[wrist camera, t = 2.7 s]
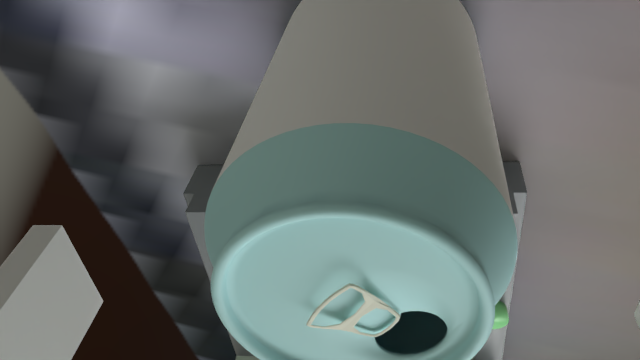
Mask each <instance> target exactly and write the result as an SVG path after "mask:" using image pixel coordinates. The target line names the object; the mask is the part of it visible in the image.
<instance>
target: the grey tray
mask: <svg viewBox="0 0 640 360" xmlns="http://www.w3.org/2000/svg"><path fill="white" fill-rule="evenodd" d="M222 167H223V165H210V166H198V167H197V168H196V170H195V172H194V174H193V176H192V178H191V180H190V182H189V184H188V186H187V188H186V190H185V192H184V197H185V199H186V202H187V205H188V208H187V210H186V212H185V213H186V216H187V219H188V221H189V224H190V227H191V230H192V233H193V235H194V238H195V241H196V244H197V246H198V249H199V252H200V255H201V258H202V260H203V263H204V266H205V269H206V272H207V274H208V277H209V280H210V283H211V275H212V271H213V266H212V263H211V261H210V258H209V255H208V252H207V248H206V243H205V232H204V222H205V212H206V207H207V203H208V200H209V197H210V194H211V192H212V189H213V187H214V185H215V183H216V181H217V178H218V176H219V174H220V172H221V170H222ZM503 167H504V172H505V177H506V182H507V187H508V192H509V197H510V201H511V206H512V211H513V216H514V221H515V226H516V231H517V240H518V250H519V243H520V237H521V230H522V223H523V217H524V210H525V203H526V197H527V190H526V186H525V182H524V178H523V174H522V170H521V166H520V162H503ZM518 250H517V257H518ZM516 264H517V258H516ZM516 264H515V268H514V272H513V275H512V278H511V281H510V283H509V285H508V287H507V289H506V291H505V293H504V294H503V296H502V297H501V299H500V300H499V301H498V303H497V304H496V305H495V319H494V325H493V328H492V331H491V333H490V335H489V337H488V339H487V341H486V343H485V344H484V346H483V347H482V348H481V350H480V351H479V352H478V353H477V354H476V355H475V356H474V357H473V358H472V359H471V360H502V357H503V351H504V344H505V337H506V331H507V324H508V322H509V318H508V317H509V310H510V304H511V297H512V290H513V284H514V277H515V270H516ZM228 333H229V336H230V338H231V341H232V344H233V347H234V350H235V352H236V355H237V356H236V359H235V360H260V359H258V358H257V357H255V356H254V355H253V354H251V353H250V352H249V351H247V350H246V349H245V348H244V347H243V346H242V345H241V344H239V343H238V341H237V340H236V339H235V338H234V337H233V336H232V335H231V334H230V332H229V331H228Z"/></svg>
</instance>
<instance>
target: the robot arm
mask: <svg viewBox="0 0 640 360" xmlns="http://www.w3.org/2000/svg"><path fill="white" fill-rule="evenodd" d="M102 303H103V300H102V298H101V296H100V294H99V293H98V291H97V289H96V287H95V285H94V283H93V282H92V280H91V278H90V276H89V274H88V272H87V270H86V269H85V267H84V265H83V263H82V261H81V260H80V258H79V256H78V254H77V253H76V250H75V248H74V247H73V245H72V243H71V241H70V239H69V237H68V236H67V234H66V232H65V230H64V228H63V227H62V225H33V226H32V227H31V229H30V230H29V231H28V232H27V234H26V235H25V236H24V238H23V239H22V240H21V241H20V243H19V244H18V245H17V246H16V248H15V249H14V250H13V251H12V253H11V254H10V255H9V256H8V258H7V259H6V260H5V262H4V263H3V264H2V265H1V267H0V360H71V359H72V357H73V355H74V353H75V352H76V350H77V348H78V346H79V344H80V343H81V341H82V339H83V337H84V335H85V334H86V331H87V330H88V328H89V326H90V324H91V323H92V321H93V319H94V317H95V315H96V314H97V312H98V310H99V308H100V306H101V305H102ZM634 317H635V319H636V322H637V324H638V327H639V329H640V300H639V303H638V306H637V308H636V311H635V314H634Z"/></svg>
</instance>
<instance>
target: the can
mask: <svg viewBox="0 0 640 360" xmlns="http://www.w3.org/2000/svg"><path fill="white" fill-rule="evenodd" d="M204 232H205V243H206V248H207V252H208V255H209V258H210V261H211V263H212V266H213V271H212V275H211V295H212V300H213V304H214V307H215V310H216V312H217V314H218V316H219V318H220V320H221V321H222V323H223V324H224V326H225V327H226V329H227V330H228V331H229V332H230V334H231V335H232V336H233V337H234V338H235V339H236V340H237V341H238V343H239V344H241V345H242V346H243V347H244V348H245V349H246V350H247V351H249V352H250V353H251V354H253V355H254V356H255V357H257V358H258V359H260V360H471V359H472V358H473V357H474V356H475V355H476V354H477V353H478V352H479V351H480V350H481V348H482V347H483V346H484V344H485V343H486V341H487V339H488V337H489V335H490V333H491V331H492V328H493V325H494V319H495V305H496V304H497V303H498V301H499V300H500V299H501V297H502V296H503V294H504V293H505V291H506V289H507V287H508V285H509V283H510V281H511V278H512V275H513V272H514V268H515V264H516V258H517V250H518V240H517V231H516V226H515V221H514V216H513V211H512V206H511V201H510V197H509V192H508V187H507V182H506V177H505V172H504V167H503V162H502V158H501V153H500V148H499V143H498V138H497V133H496V128H495V123H494V119H493V114H492V109H491V104H490V99H489V94H488V89H487V85H486V80H485V75H484V70H483V65H482V60H481V55H480V50H479V46H478V41H477V36H476V32H475V29H474V26H473V23H472V21H471V19H470V17H469V15H468V13H467V11H466V9H465V8H464V6H463V5H462V3H461V2H460V1H459V0H302V1H301V2H300V3H299V5H298V6H297V8H296V9H295V11H294V13H293V15H292V17H291V19H290V21H289V23H288V25H287V27H286V29H285V32H284V34H283V36H282V38H281V40H280V43H279V45H278V47H277V49H276V51H275V53H274V56H273V58H272V60H271V62H270V64H269V67H268V69H267V71H266V73H265V75H264V78H263V80H262V82H261V84H260V86H259V89H258V91H257V93H256V95H255V97H254V100H253V102H252V104H251V106H250V108H249V110H248V113H247V115H246V117H245V119H244V121H243V124H242V126H241V128H240V130H239V132H238V135H237V137H236V139H235V141H234V143H233V146H232V148H231V150H230V152H229V154H228V157H227V159H226V161H225V163H224V165H223V167H222V170H221V172H220V174H219V176H218V178H217V181H216V183H215V185H214V187H213V189H212V192H211V194H210V197H209V200H208V203H207V207H206V212H205V222H204Z"/></svg>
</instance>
